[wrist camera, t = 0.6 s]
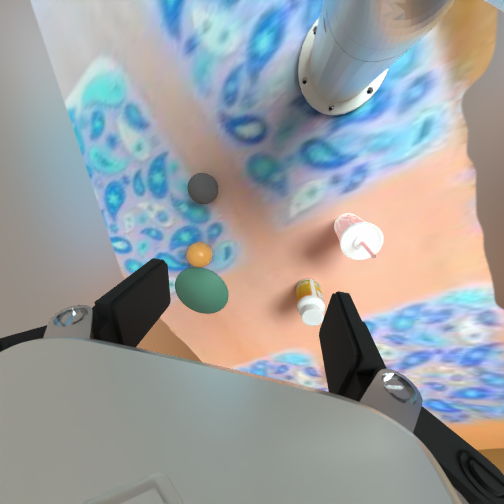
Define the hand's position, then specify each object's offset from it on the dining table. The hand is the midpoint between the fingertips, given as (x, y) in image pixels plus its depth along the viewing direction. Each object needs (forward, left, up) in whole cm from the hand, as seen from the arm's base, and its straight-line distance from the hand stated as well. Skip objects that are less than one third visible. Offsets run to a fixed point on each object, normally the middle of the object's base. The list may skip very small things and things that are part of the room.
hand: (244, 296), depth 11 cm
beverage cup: (+2, +15, -31) cm, 35 cm away
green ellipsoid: (+26, -13, -31) cm, 43 cm away
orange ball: (+14, -13, -28) cm, 35 cm away
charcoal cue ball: (0, -13, -28) cm, 31 cm away
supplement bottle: (+18, +12, -31) cm, 38 cm away
